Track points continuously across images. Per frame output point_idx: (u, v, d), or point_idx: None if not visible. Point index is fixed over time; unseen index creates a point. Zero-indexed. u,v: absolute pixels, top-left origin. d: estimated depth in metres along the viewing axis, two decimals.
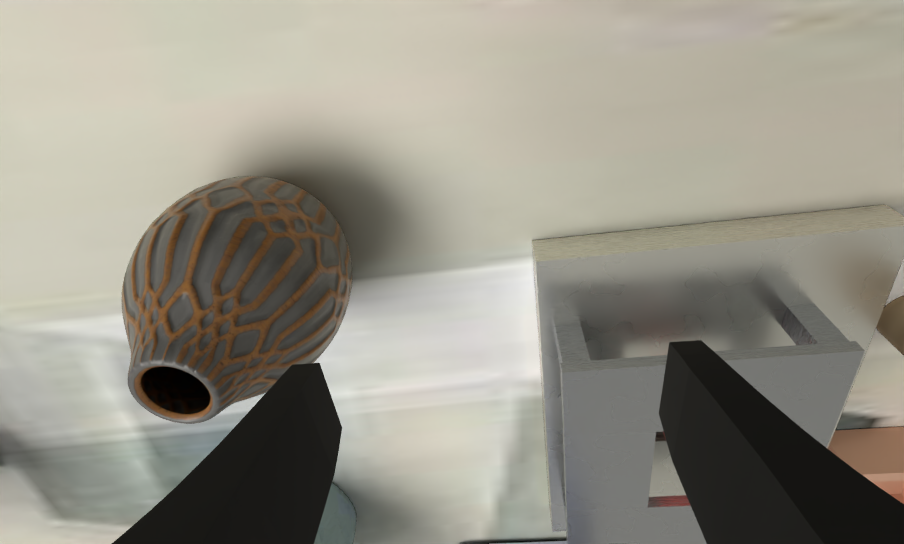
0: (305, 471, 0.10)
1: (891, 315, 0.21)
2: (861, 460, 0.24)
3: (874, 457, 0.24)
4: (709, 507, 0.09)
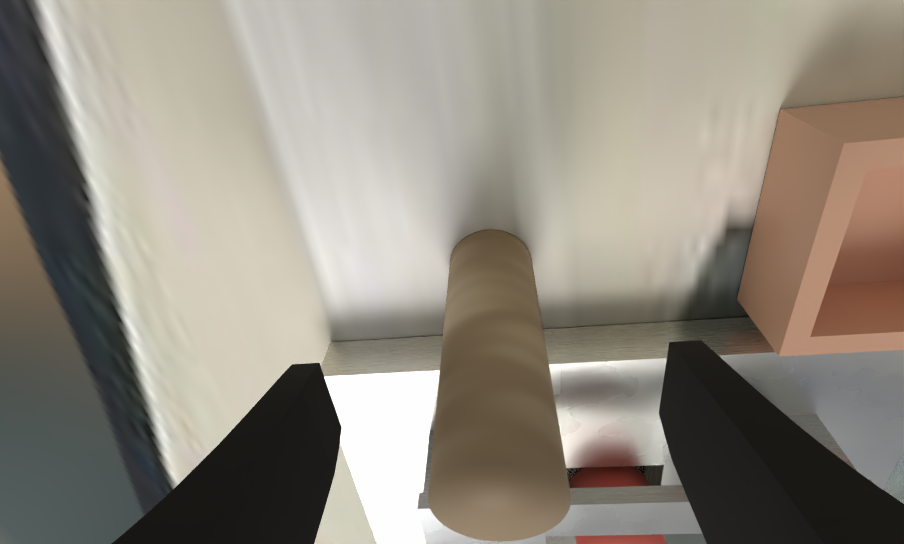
0: (305, 471, 0.10)
1: None
2: (772, 311, 0.13)
3: (775, 288, 0.13)
4: (709, 506, 0.09)
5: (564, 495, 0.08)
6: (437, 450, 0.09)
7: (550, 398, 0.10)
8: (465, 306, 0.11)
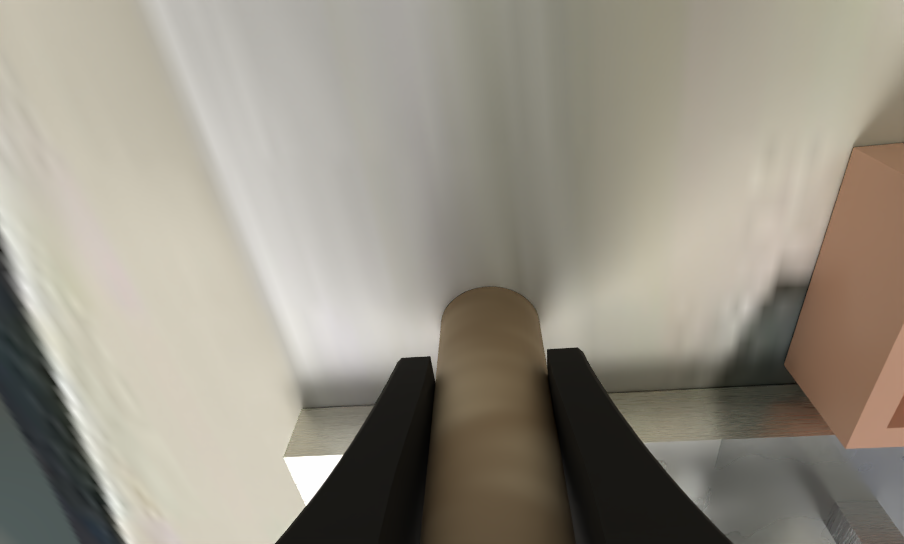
0: (426, 466, 0.09)
1: None
2: (836, 392, 0.11)
3: (842, 365, 0.10)
4: (571, 511, 0.09)
5: None
6: None
7: None
8: (458, 401, 0.09)
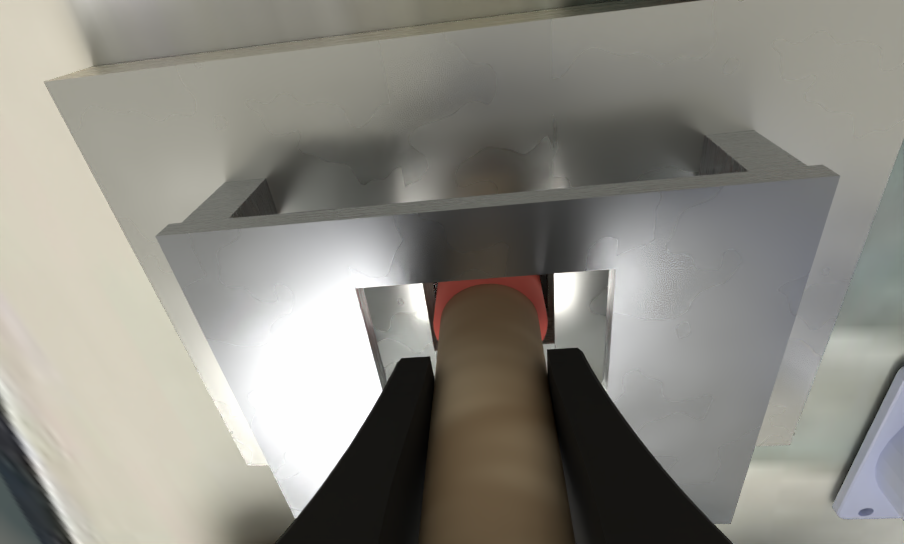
0: None
1: None
2: None
3: None
4: (570, 510, 0.09)
5: None
6: None
7: (569, 542, 0.07)
8: (455, 397, 0.09)
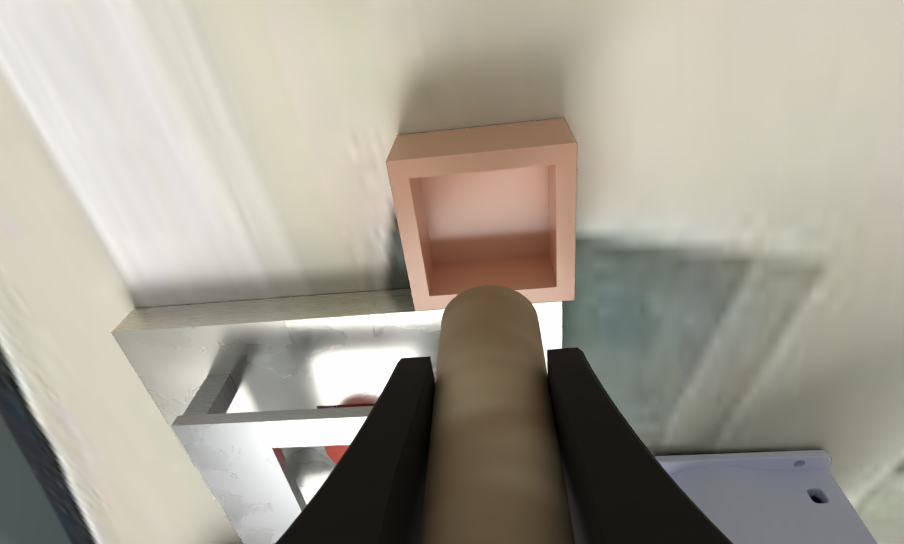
0: (426, 466, 0.09)
1: None
2: None
3: None
4: (570, 510, 0.09)
5: None
6: None
7: None
8: (461, 398, 0.09)
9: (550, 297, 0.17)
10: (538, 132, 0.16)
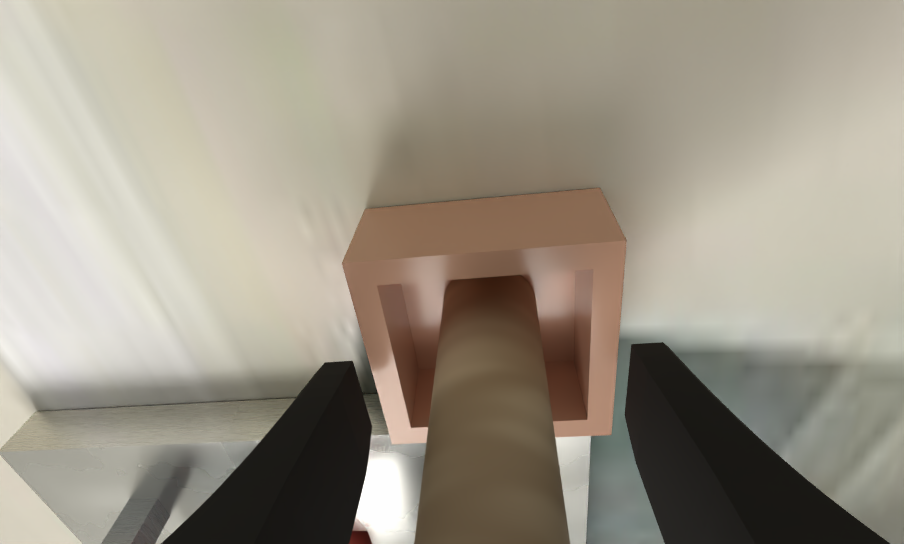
0: (341, 470, 0.09)
1: None
2: None
3: None
4: (666, 508, 0.09)
5: None
6: None
7: (559, 491, 0.08)
8: (460, 362, 0.10)
9: (578, 431, 0.13)
10: (564, 215, 0.11)
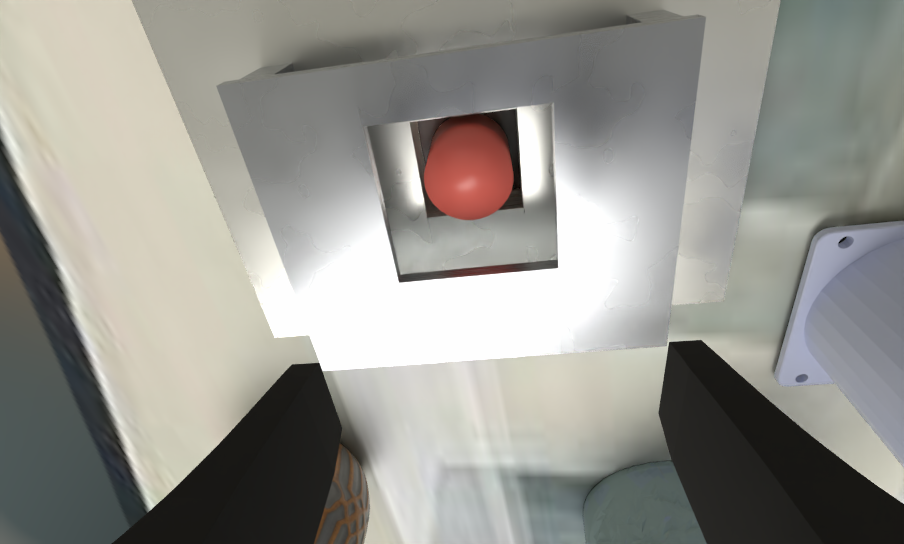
0: (305, 471, 0.10)
1: None
2: None
3: None
4: (708, 507, 0.09)
5: None
6: None
7: None
8: None
9: None
10: None
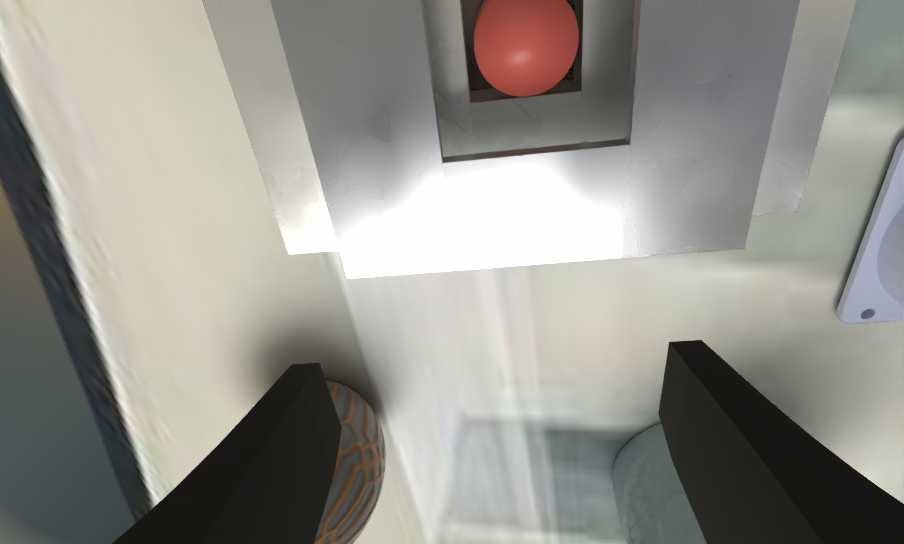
0: (305, 471, 0.10)
1: None
2: None
3: None
4: (709, 507, 0.09)
5: None
6: None
7: None
8: None
9: None
10: None
